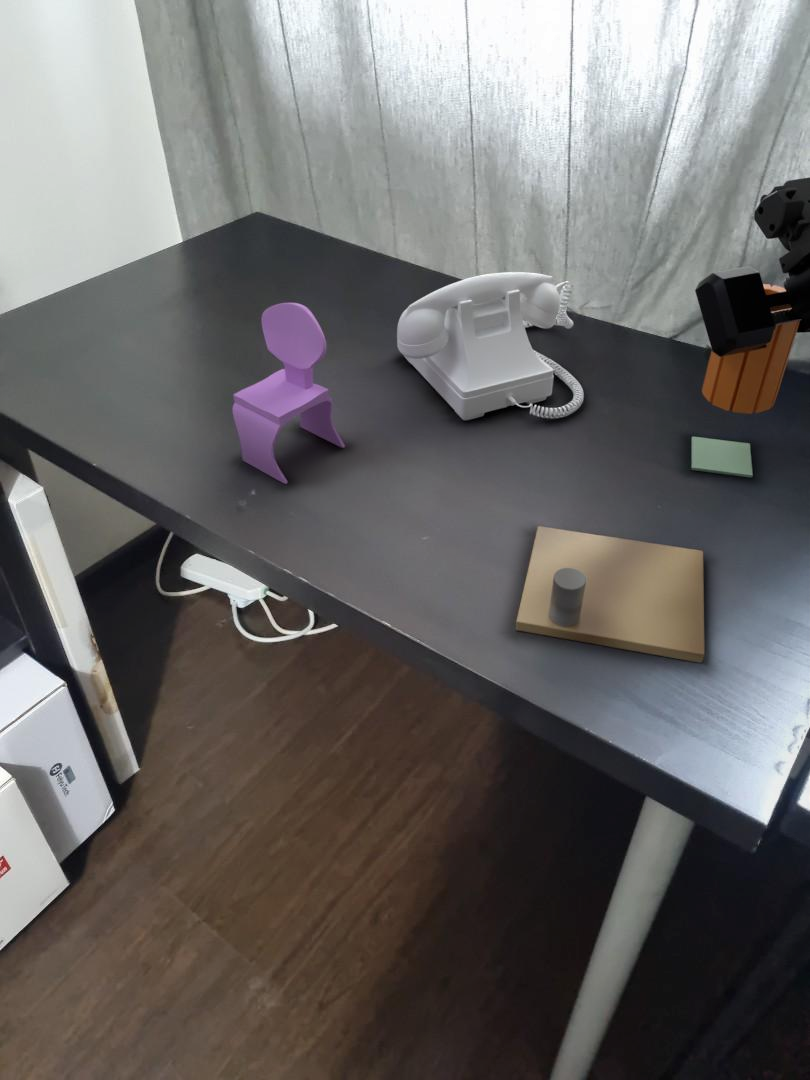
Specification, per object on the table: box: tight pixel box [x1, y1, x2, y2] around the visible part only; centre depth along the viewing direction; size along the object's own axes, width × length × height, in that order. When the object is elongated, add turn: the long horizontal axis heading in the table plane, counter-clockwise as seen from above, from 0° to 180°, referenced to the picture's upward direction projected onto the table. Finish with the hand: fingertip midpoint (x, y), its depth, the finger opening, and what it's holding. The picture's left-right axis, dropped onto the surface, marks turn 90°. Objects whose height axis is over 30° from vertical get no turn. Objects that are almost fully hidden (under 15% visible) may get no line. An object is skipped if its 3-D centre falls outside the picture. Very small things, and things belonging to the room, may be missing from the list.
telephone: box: [396, 271, 585, 421], centre depth 90 cm, size 25×21×12 cm
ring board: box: [515, 525, 706, 664], centre depth 66 cm, size 14×12×5 cm
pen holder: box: [701, 283, 800, 415], centre depth 74 cm, size 6×7×10 cm
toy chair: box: [232, 302, 346, 485], centre depth 78 cm, size 8×9×15 cm
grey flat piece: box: [690, 436, 754, 479], centre depth 82 cm, size 6×6×1 cm
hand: (744, 333), depth 74 cm, fingers closed on pen holder, 6 cm apart
